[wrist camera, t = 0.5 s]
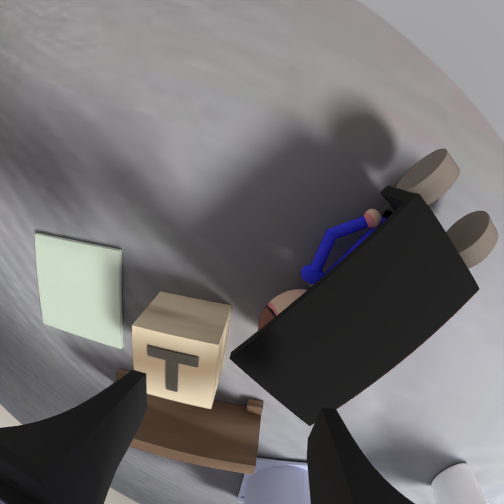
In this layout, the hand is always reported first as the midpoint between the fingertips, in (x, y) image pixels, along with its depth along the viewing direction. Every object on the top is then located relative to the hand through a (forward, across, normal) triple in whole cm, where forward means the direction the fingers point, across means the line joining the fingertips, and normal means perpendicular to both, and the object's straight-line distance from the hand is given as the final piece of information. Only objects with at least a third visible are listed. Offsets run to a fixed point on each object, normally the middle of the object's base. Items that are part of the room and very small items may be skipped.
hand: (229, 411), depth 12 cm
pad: (+10, +13, +2) cm, 17 cm away
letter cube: (+10, +4, +3) cm, 11 cm away
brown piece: (+10, +4, +10) cm, 14 cm away
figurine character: (+10, -6, -4) cm, 13 cm away
